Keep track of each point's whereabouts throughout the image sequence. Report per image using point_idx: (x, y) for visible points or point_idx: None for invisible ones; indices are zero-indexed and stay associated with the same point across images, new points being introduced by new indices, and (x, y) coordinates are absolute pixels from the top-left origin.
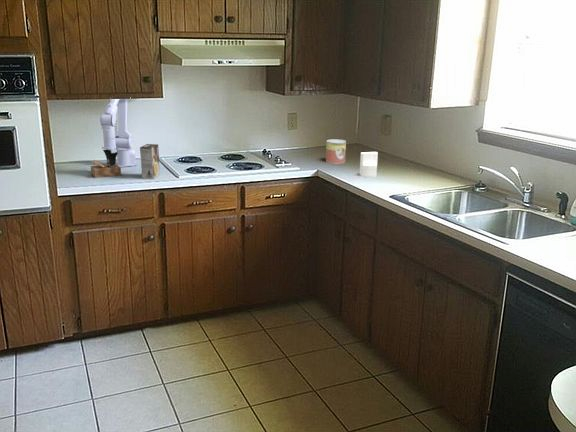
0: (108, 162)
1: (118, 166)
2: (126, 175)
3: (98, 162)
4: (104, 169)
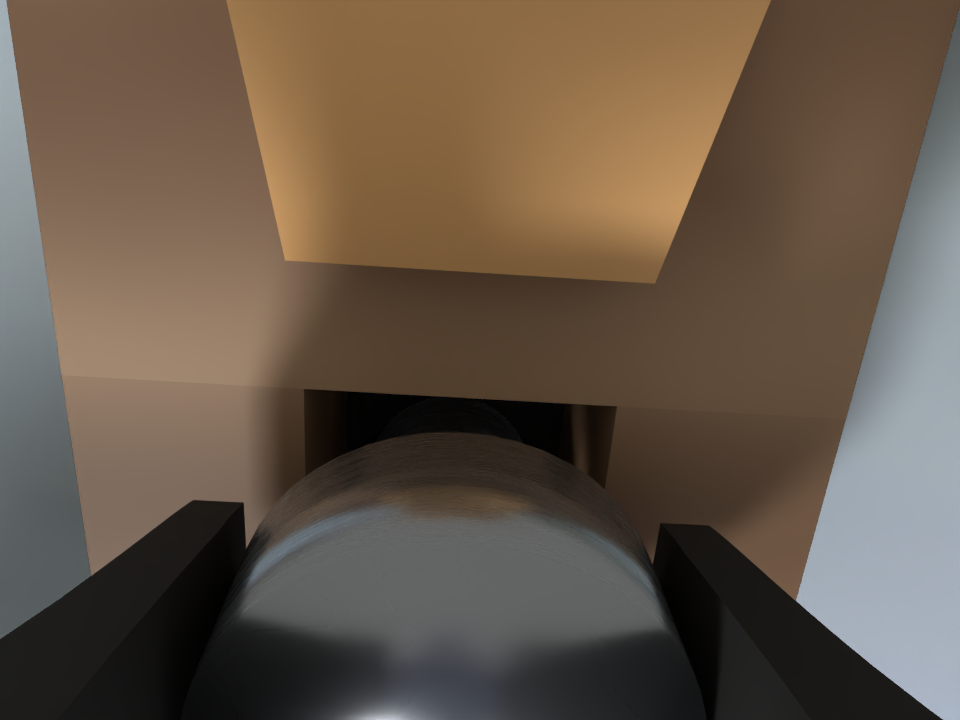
0: (288, 523)
1: None
2: None
3: (540, 30)
4: (36, 157)
